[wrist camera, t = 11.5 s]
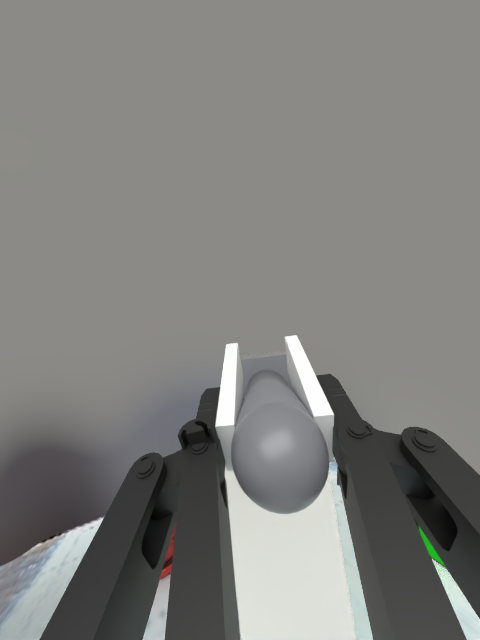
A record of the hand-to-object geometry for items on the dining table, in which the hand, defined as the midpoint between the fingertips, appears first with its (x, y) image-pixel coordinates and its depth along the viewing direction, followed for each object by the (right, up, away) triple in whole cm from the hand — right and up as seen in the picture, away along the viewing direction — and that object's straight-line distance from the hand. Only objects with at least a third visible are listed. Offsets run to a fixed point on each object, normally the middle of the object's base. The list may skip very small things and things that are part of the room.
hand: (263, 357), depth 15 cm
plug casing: (+1, -5, +2) cm, 6 cm away
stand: (+6, -38, +15) cm, 41 cm away
